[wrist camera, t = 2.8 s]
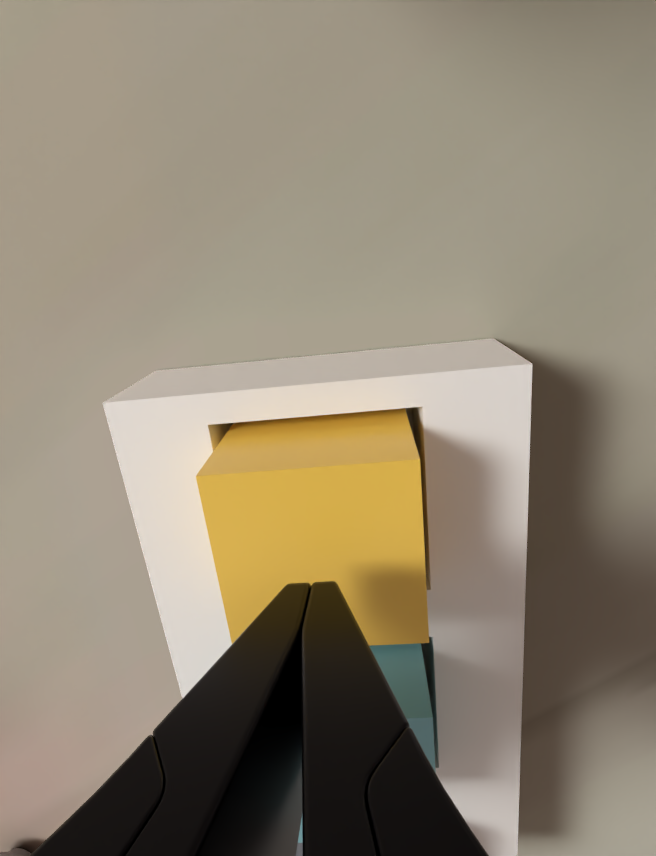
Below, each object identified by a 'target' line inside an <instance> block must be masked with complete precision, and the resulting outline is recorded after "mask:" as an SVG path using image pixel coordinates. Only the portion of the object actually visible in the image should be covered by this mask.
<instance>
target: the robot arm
mask: <svg viewBox="0 0 656 856" xmlns="http://www.w3.org/2000/svg"><path fill="white" fill-rule="evenodd" d="M153 736H154V737H153ZM153 736H152V735H149V736H148V737H147V738H146V739H145V740H144V741H143V742H142V743H141V744H140V746H139V747H138V748H137V749H136V750H135V751H134V752H133V753H132V754H131V755H130V757H129V758H128V759H127V760H126V761H125V762H124V763H123V764H122V765H121V766H120V767H119V768H118V769H117V770H116V771H115V772H114V773H113V774H112V776H111V777H110V778H109V779H108V780H107V781H106V782H105V783H104V784H103V785H102V786H101V787H100V788H99V789H98V790H97V791H96V792H95V793H94V794H93V795H92V796H91V797H90V798H89V799H88V800H87V801H86V802H85V803H84V804H83V805H82V806H81V807H80V808H79V809H78V810H77V811H76V812H75V813H74V814H73V815H72V816H71V817H70V818H69V819H68V820H66V821H65V822H64V823H63V824H62V825H61V826H60V827H59V828H58V829H57V830H56V831H55V832H54V833H53V834H52V835H51V836H50V837H49V838H48V839H47V840H46V841H45V842H43V843H42V844H41V845H40V846H39V847H38V848H37V849H36V850H35V851H34V852H33V853H32V854H31V855H30V856H296V852H297V845H298V838H299V831H300V825H301V818H302V838H303V856H489V855H488V854H487V852H486V851H485V849H484V848H483V846H482V845H481V844H480V842H479V841H478V839H477V838H476V836H475V835H474V833H473V832H472V830H471V829H470V828H469V826H468V824H467V823H466V821H465V820H464V818H463V817H462V815H461V814H460V812H459V810H458V809H457V807H456V806H455V804H454V803H453V801H452V800H451V798H450V796H449V795H448V793H447V792H446V790H445V789H444V787H443V785H442V783H441V782H440V780H439V778H438V776H437V775H436V773H435V771H434V769H433V767H432V766H431V764H430V762H429V760H428V758H427V757H426V755H425V753H424V751H423V749H422V747H421V745H420V743H419V742H418V740H417V738H416V736H415V734H414V732H413V730H412V729H411V728H410V725H409V723H408V721H407V719H406V717H405V715H404V713H403V711H402V709H401V707H400V705H399V703H398V701H397V699H396V697H395V695H394V693H393V691H392V690H391V688H390V686H389V684H388V682H387V680H386V678H385V676H384V674H383V672H382V670H381V668H380V666H379V664H378V662H377V660H376V658H375V656H374V654H373V652H372V651H371V649H370V647H369V645H368V643H367V641H366V639H365V637H364V635H363V633H362V631H361V629H360V627H359V625H358V623H357V621H356V619H355V617H354V615H353V613H352V611H351V610H350V608H349V606H348V604H347V602H346V600H345V598H344V596H343V594H342V592H341V590H340V588H339V586H338V584H337V583H336V582H335V581H324V582H314V583H313V584H312V586H311V584H310V583H307V582H306V583H290V584H287V585H286V586H285V587H284V588H283V589H282V590H281V591H280V592H279V593H278V594H277V595H276V596H275V598H274V599H273V600H272V601H271V602H270V603H269V604H268V605H267V606H266V607H265V609H264V610H263V611H262V612H261V613H260V614H259V615H258V616H257V617H256V618H255V620H254V621H253V622H252V623H251V624H250V625H249V626H248V627H247V628H246V629H245V631H244V632H243V633H242V634H241V635H240V636H239V637H238V638H237V639H236V640H235V642H234V643H233V644H232V645H231V646H230V647H229V648H228V649H227V650H226V651H225V652H224V654H223V655H222V656H221V657H220V658H219V659H218V660H217V661H216V662H215V663H214V665H213V666H212V667H211V668H210V669H209V670H208V671H207V672H206V673H205V674H204V676H203V677H202V678H201V679H200V680H199V681H198V682H197V683H196V684H195V685H194V687H193V688H192V689H191V690H190V691H189V692H188V693H187V694H186V695H185V696H184V698H183V699H182V700H181V701H180V702H179V703H178V704H177V705H176V706H175V707H174V709H173V710H172V711H171V712H170V713H169V714H168V715H167V716H166V717H165V718H164V720H163V721H162V722H161V723H160V724H159V725H158V726H157V727H156V728H155V729H154V731H153Z"/></svg>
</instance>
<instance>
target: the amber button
mask: <svg viewBox="0 0 656 856" xmlns="http://www.w3.org/2000/svg"><path fill="white" fill-rule="evenodd" d="M196 480H197V485H198V489H199V494H200V499H201V503H202V508H203V513H204V517H205V522H206V526H207V531H208V536H209V540H210V545H211V550H212V554H213V559H214V563H215V568H216V573H217V577H218V582H219V587H220V591H221V596H222V600H223V605H224V610H225V614H226V619H227V624H228V628H229V633H230V638H231V642H232V644H233V643H234V642H235V640H236V639H237V638H238V637H239V636H240V635H241V634H242V633H243V632H244V631H245V629H246V628H247V627H248V626H249V625H250V624H251V623H252V622H253V621H254V620H255V618H256V617H257V616H258V615H259V614H260V613H261V612H262V611H263V610H264V609H265V607H266V606H267V605H268V604H269V603H270V602H271V601H272V600H273V599H274V598H275V596H276V595H277V594H278V593H279V592H280V591H281V590H282V589H283V588H284V587H285V586H286V585H287V584H290V583H306V582H307V583H310V584H311V586H312V584H313V583H314V582H324V581H335V582H336V583H337V584H338V586H339V588H340V590H341V592H342V594H343V596H344V598H345V600H346V602H347V604H348V606H349V608H350V610H351V611H352V613H353V615H354V617H355V619H356V621H357V623H358V625H359V627H360V629H361V631H362V633H363V635H364V637H365V639H366V641H367V643H368V645H369V646H371V645H394V644H417V643H429V628H428V608H427V588H426V568H425V547H424V527H423V507H422V487H421V466H420V457H419V454H418V450H417V447H416V444H415V440H414V437H413V434H412V430H411V427H410V424H409V420H408V417H407V414H406V410H405V408H401V409H389V410H377V411H365V412H354V413H342V414H330V415H318V416H307V417H295V418H283V419H271V420H260V421H248V422H236V423H233V424H232V426H231V427H230V429H229V430H228V431H227V433H226V434H225V436H224V437H223V438H222V440H221V441H220V443H219V444H218V446H217V447H216V448H215V450H214V451H213V453H212V454H211V455H210V457H209V458H208V460H207V461H206V462H205V464H204V465H203V467H202V468H201V469H200V471H199V472H198V474H197V475H196Z"/></svg>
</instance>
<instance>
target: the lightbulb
mask: <svg viewBox="0 0 656 856" xmlns="http://www.w3.org/2000/svg"><path fill="white" fill-rule="evenodd" d="M30 855H31V854H30V853H29V852H28V851H27V850H25V849H21V848H14V849H12V850H10V851H9V852H1V853H0V856H30Z"/></svg>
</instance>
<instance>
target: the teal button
mask: <svg viewBox="0 0 656 856" xmlns="http://www.w3.org/2000/svg"><path fill="white" fill-rule="evenodd" d="M369 647H370V649H371V651H372V652H373V654H374V656H375V658H376V660H377V662H378V664H379V666H380V668H381V670H382V672H383V674H384V676H385V678H386V680H387V682H388V684H389V686H390V688H391V690H392V691H393V693H394V695H395V697H396V699H397V701H398V703H399V705H400V707H401V709H402V711H403V713H404V715H405V717H406V719H407V721H408V723H409V725H410V728H411V729H412V730H413V732H414V734H415V736H416V738H417V740H418V742H419V743H420V745H421V747H422V749H423V751H424V753H425V755H426V757H427V758H428V760H429V762H430V764H431V766H432V767H433V769H434V771H435V773H436V770H435V750H434V729H433V715H432V709H431V703H430V696H429V690H428V684H427V678H426V672H425V665H424V659H423V653H422V647H421V643H417V644H394V645H371V646H369ZM298 843H303V838H302V818H301V825H300V831H299V838H298Z"/></svg>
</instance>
